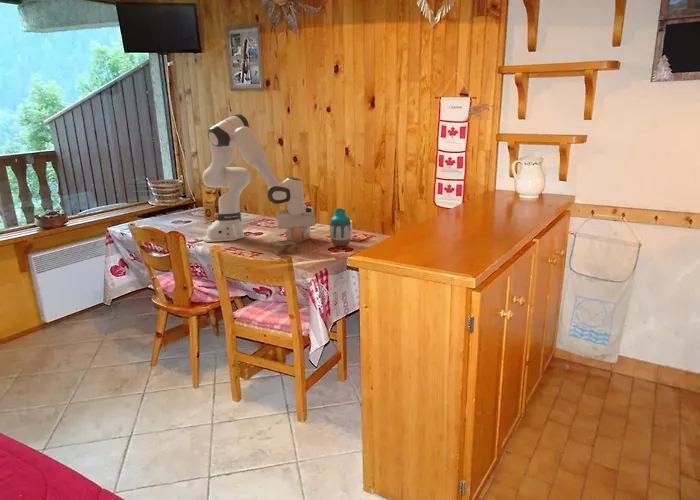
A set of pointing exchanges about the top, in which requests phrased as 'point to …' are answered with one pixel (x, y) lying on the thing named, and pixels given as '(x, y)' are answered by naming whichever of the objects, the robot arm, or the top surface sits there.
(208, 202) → the coffee package
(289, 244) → the walnut block
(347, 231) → the vase
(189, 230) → the top surface
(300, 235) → the canister
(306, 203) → the cracker box
